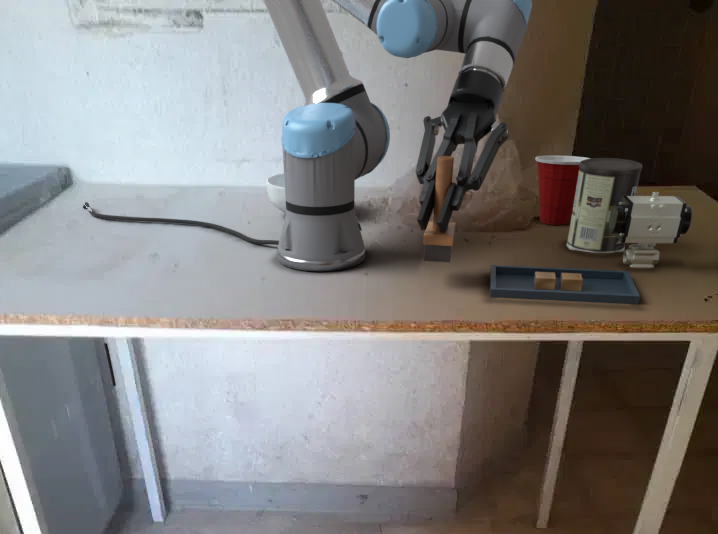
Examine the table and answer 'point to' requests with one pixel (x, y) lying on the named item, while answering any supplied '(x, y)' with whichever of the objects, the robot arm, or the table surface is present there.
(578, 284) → the small wooden block
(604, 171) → the coffee can
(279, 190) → the cereal bowl
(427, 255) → the brush
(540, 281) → the brown wooden block
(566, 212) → the plastic cup
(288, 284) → the table surface
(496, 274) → the tray
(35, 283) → the table surface
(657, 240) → the pneumatic valve
